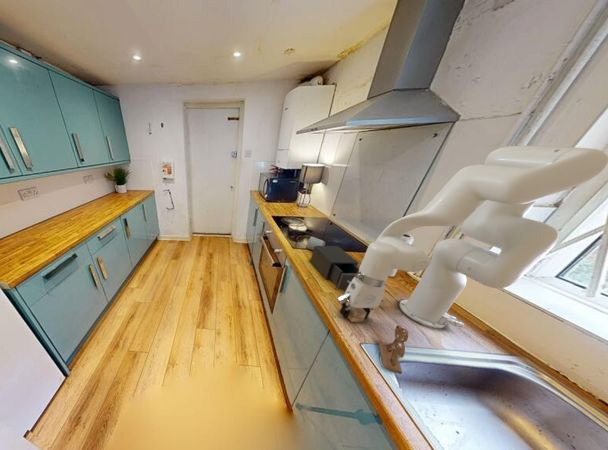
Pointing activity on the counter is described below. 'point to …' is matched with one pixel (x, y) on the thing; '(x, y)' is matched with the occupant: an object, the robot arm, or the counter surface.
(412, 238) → the paper towel roll
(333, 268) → the black pull-out drawer
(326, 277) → the black drawer cabinet housing
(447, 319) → the robot arm
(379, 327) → the counter surface
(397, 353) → the brown irregular upright piece
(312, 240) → the ceramic mug
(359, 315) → the block
